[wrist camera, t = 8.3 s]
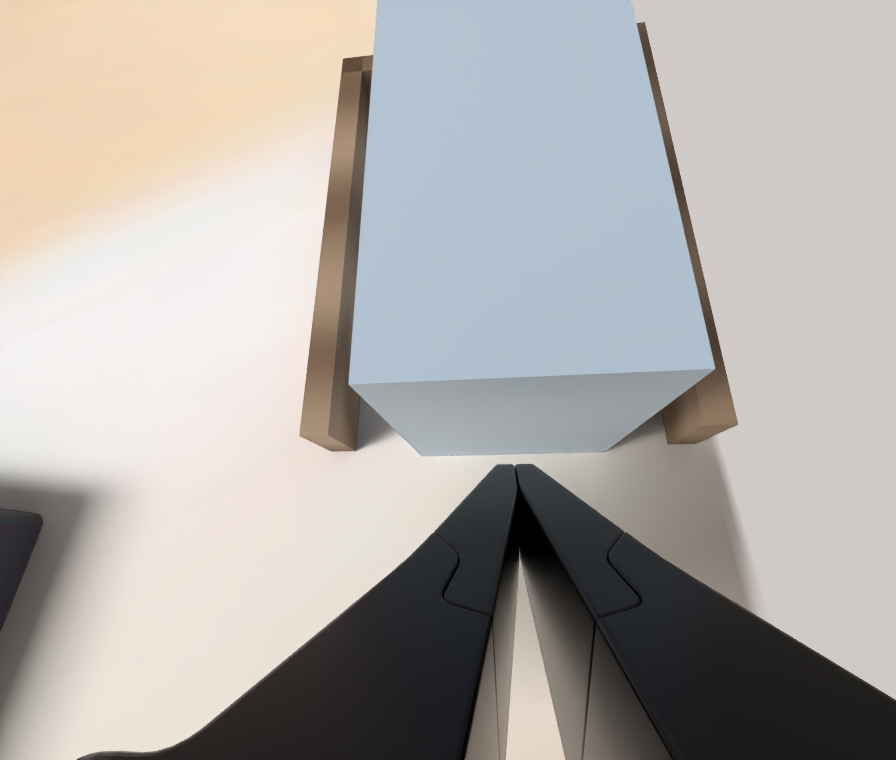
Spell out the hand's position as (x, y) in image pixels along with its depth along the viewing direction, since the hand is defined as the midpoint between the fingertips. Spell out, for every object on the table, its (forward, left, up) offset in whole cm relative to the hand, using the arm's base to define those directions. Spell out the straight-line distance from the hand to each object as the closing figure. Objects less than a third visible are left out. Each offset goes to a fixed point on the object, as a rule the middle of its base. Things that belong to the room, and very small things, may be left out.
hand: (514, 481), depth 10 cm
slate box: (+6, -8, -7) cm, 12 cm away
